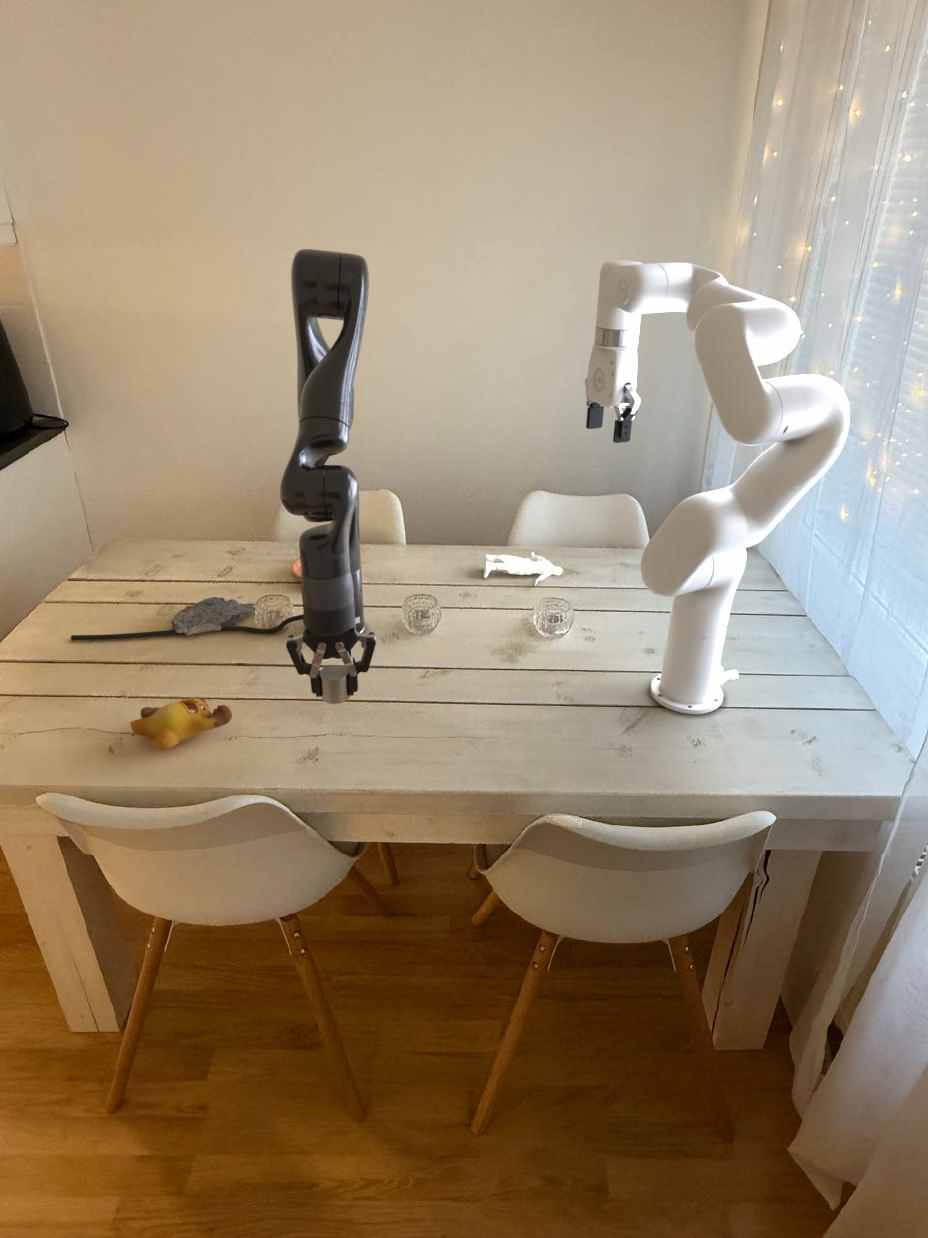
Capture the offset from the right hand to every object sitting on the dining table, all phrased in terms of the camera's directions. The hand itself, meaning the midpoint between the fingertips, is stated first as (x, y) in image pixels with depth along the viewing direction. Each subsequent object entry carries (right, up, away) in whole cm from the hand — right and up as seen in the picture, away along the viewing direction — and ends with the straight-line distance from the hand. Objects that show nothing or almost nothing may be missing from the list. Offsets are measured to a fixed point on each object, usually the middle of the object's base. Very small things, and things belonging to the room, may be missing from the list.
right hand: (607, 434), depth 150 cm
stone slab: (-78, -35, +17) cm, 88 cm away
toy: (-72, -53, -16) cm, 91 cm away
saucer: (-58, -24, +37) cm, 73 cm away
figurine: (-13, -24, +39) cm, 47 cm away
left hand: (-47, -46, -22) cm, 69 cm away
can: (-47, -46, -22) cm, 69 cm away
